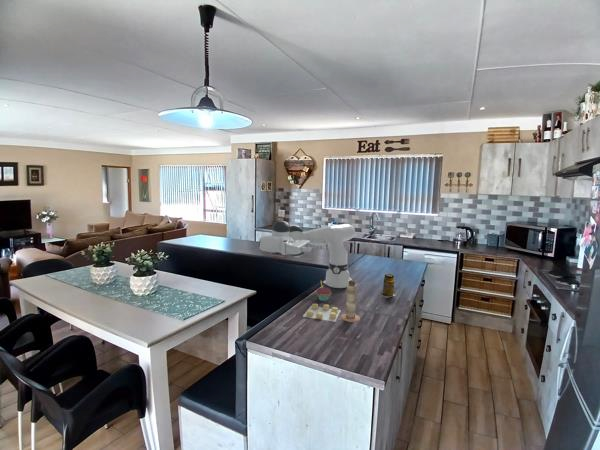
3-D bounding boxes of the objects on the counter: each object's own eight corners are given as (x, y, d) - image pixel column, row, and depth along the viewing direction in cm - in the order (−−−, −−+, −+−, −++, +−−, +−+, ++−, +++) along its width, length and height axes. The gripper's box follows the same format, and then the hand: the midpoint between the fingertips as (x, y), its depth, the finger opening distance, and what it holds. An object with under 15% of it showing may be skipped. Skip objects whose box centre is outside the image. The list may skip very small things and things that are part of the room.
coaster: (342, 313, 157) (342, 312, 157) (360, 316, 155) (361, 315, 154) (339, 321, 149) (339, 319, 149) (358, 324, 146) (358, 322, 146)
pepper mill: (346, 314, 154) (348, 278, 152) (355, 316, 153) (357, 279, 150) (344, 318, 150) (346, 280, 148) (354, 319, 149) (356, 282, 146)
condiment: (396, 295, 185) (397, 275, 183) (386, 298, 180) (387, 278, 179) (386, 291, 191) (388, 272, 189) (377, 294, 186) (378, 274, 185)
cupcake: (318, 303, 170) (319, 282, 168) (313, 297, 178) (314, 277, 176) (333, 302, 172) (334, 281, 171) (328, 296, 180) (328, 276, 179)
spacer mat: (310, 306, 165) (310, 302, 165) (340, 311, 160) (341, 306, 160) (302, 317, 152) (302, 312, 151) (335, 323, 147) (335, 317, 146)
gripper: (294, 247, 174) (318, 249, 170) (280, 255, 155) (307, 258, 150) (294, 236, 173) (319, 238, 169) (281, 242, 154) (308, 245, 149)
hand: (313, 247), depth 159 cm, fingers open, 8 cm apart
